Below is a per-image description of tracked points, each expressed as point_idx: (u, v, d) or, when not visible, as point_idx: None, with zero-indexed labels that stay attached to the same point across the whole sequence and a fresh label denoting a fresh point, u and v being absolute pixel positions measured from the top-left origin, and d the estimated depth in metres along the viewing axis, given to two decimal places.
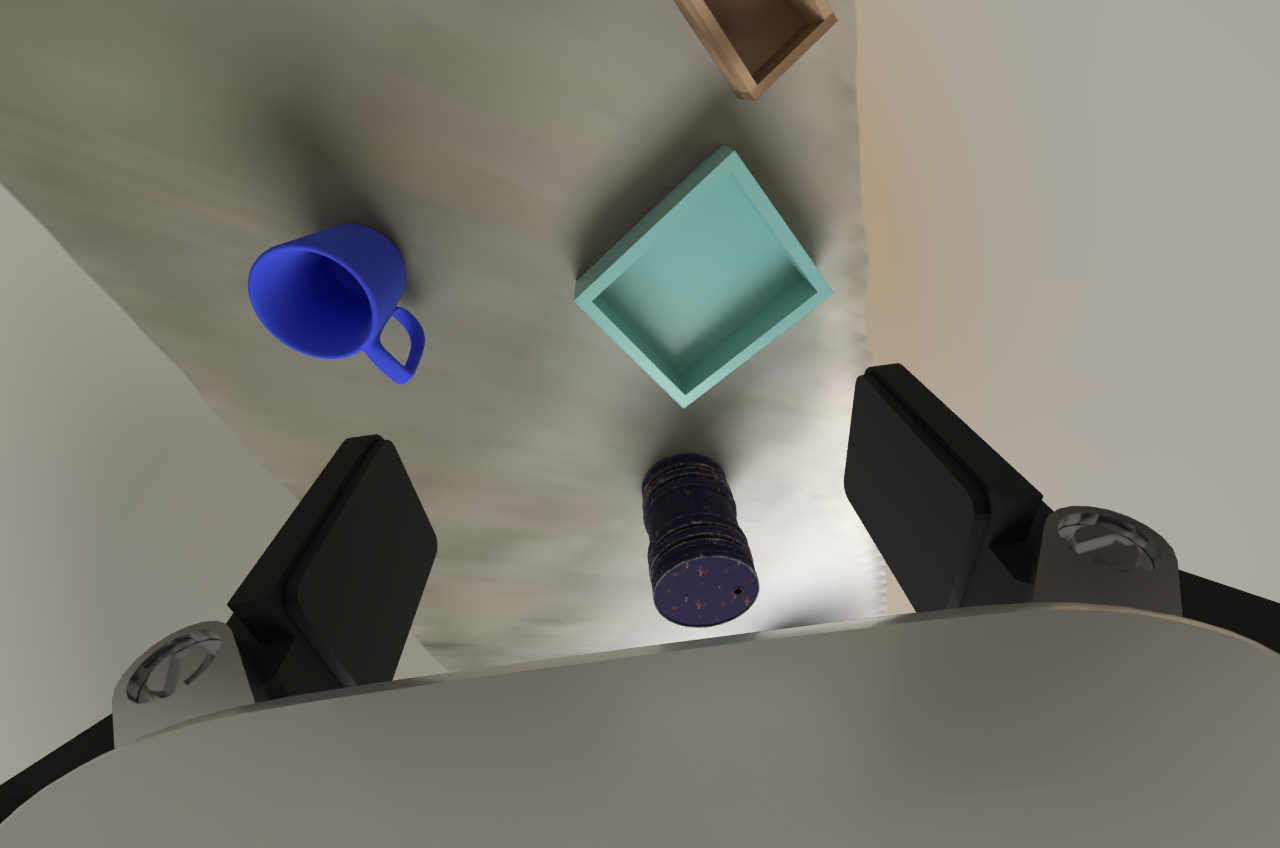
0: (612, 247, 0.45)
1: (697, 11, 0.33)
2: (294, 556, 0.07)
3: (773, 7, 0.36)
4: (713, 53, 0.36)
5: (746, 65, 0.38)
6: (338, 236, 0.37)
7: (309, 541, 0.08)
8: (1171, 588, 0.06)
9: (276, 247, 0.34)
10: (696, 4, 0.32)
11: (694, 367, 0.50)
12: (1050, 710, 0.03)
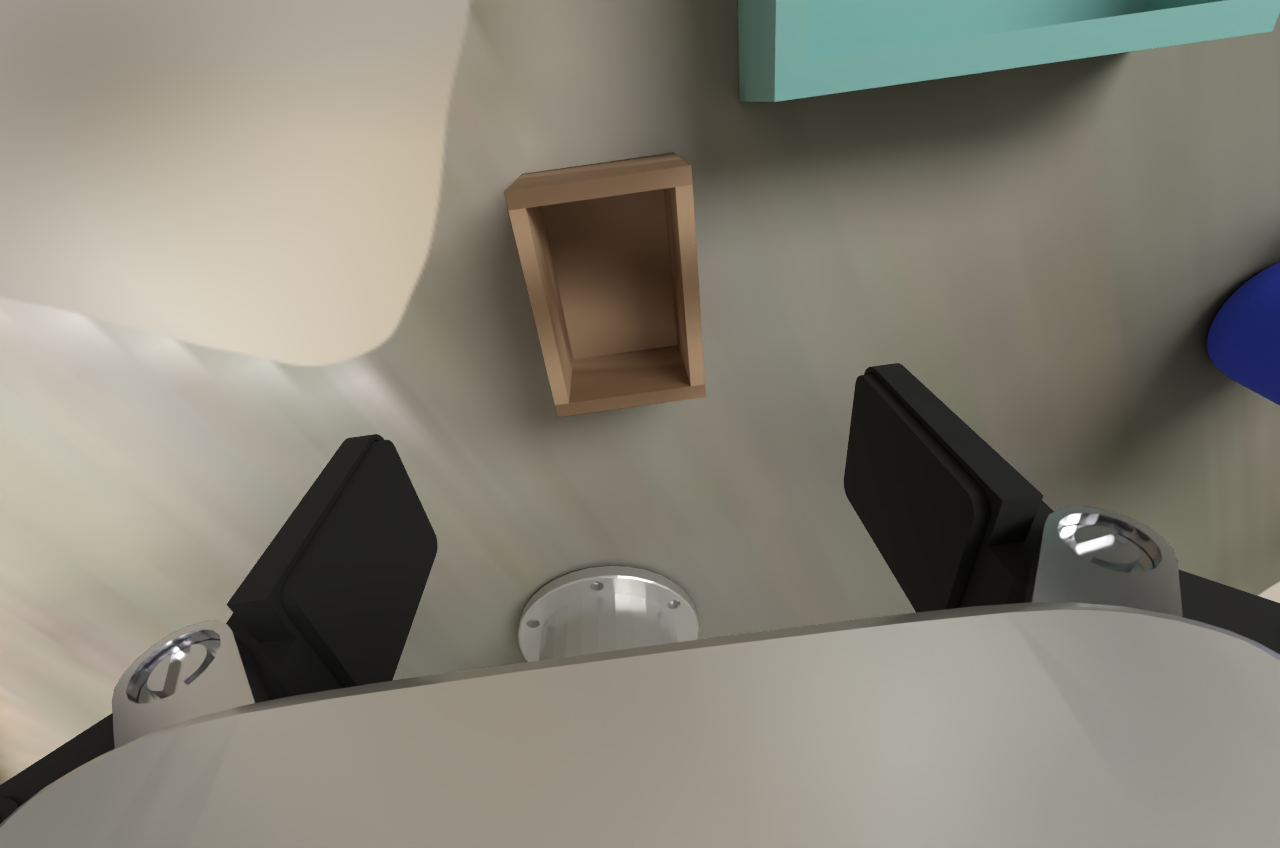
0: None
1: None
2: (294, 555, 0.07)
3: (570, 240, 0.23)
4: None
5: (642, 195, 0.22)
6: None
7: (309, 541, 0.08)
8: (1171, 588, 0.06)
9: None
10: (698, 345, 0.21)
11: None
12: (1051, 710, 0.03)
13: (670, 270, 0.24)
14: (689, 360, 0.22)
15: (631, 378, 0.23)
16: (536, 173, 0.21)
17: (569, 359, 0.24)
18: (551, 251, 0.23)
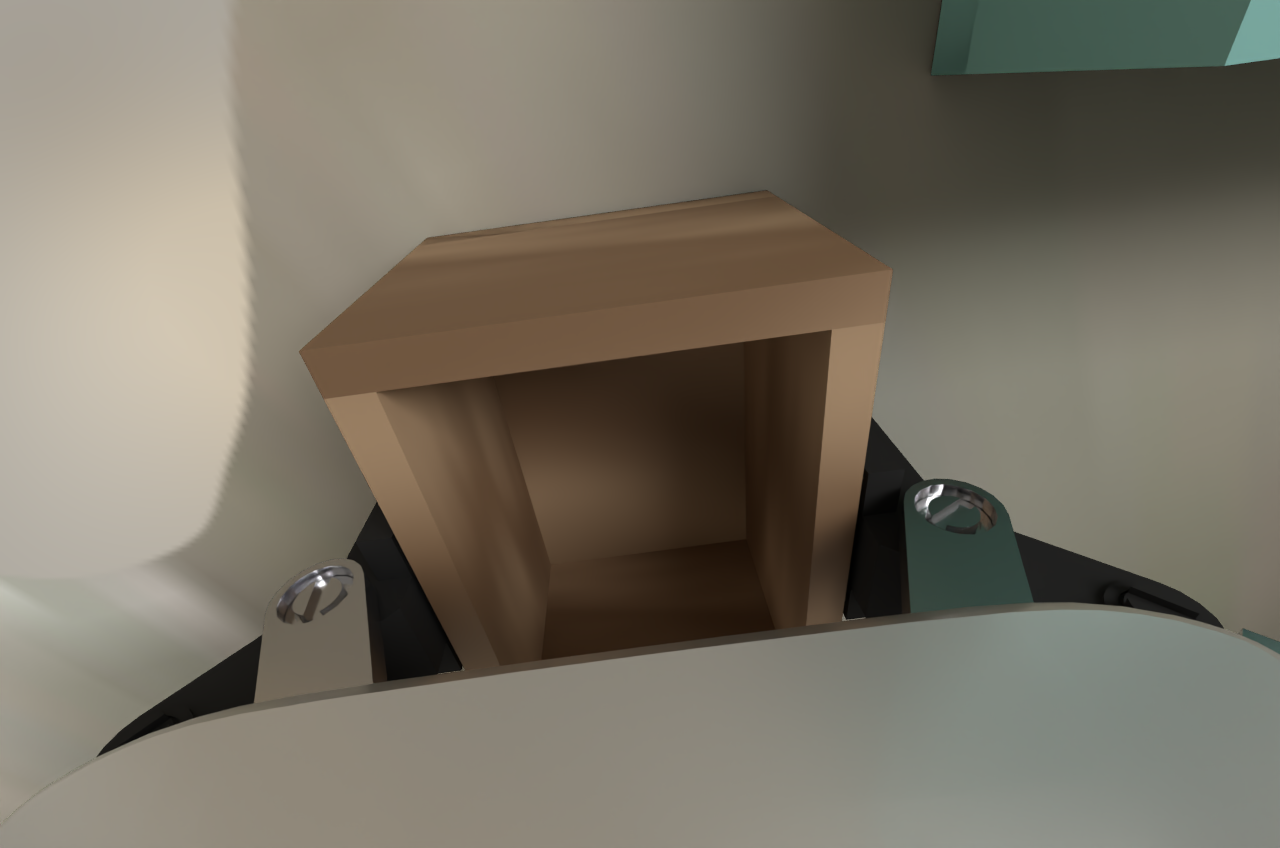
0: None
1: None
2: None
3: (538, 373, 0.11)
4: None
5: None
6: None
7: None
8: (1010, 541, 0.06)
9: None
10: None
11: None
12: (1051, 710, 0.03)
13: (744, 423, 0.12)
14: None
15: None
16: (455, 240, 0.09)
17: (540, 591, 0.12)
18: (499, 391, 0.11)
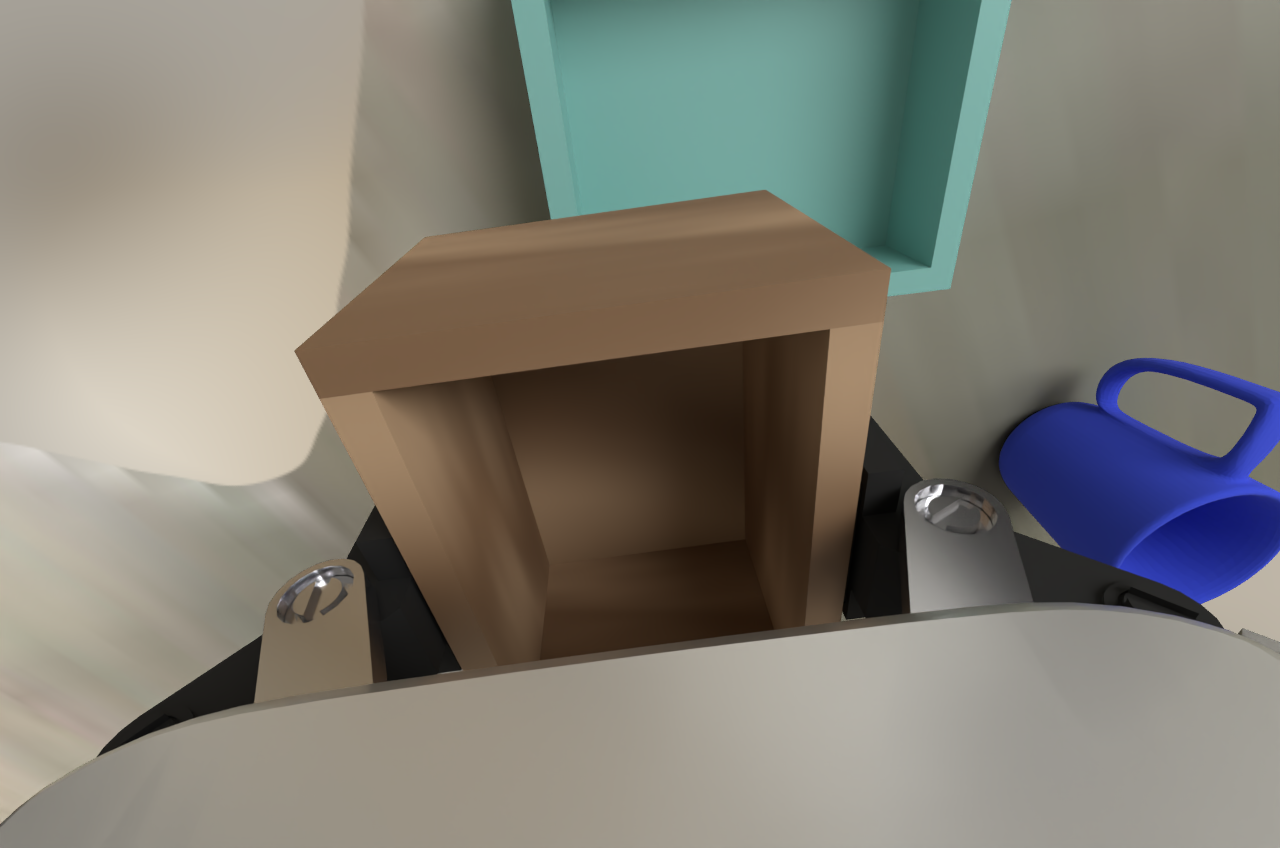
0: None
1: None
2: None
3: (536, 372, 0.11)
4: None
5: None
6: (1056, 539, 0.29)
7: None
8: (1010, 541, 0.06)
9: None
10: None
11: None
12: (1051, 710, 0.03)
13: (743, 423, 0.12)
14: None
15: None
16: (452, 240, 0.09)
17: (539, 592, 0.12)
18: (497, 392, 0.11)
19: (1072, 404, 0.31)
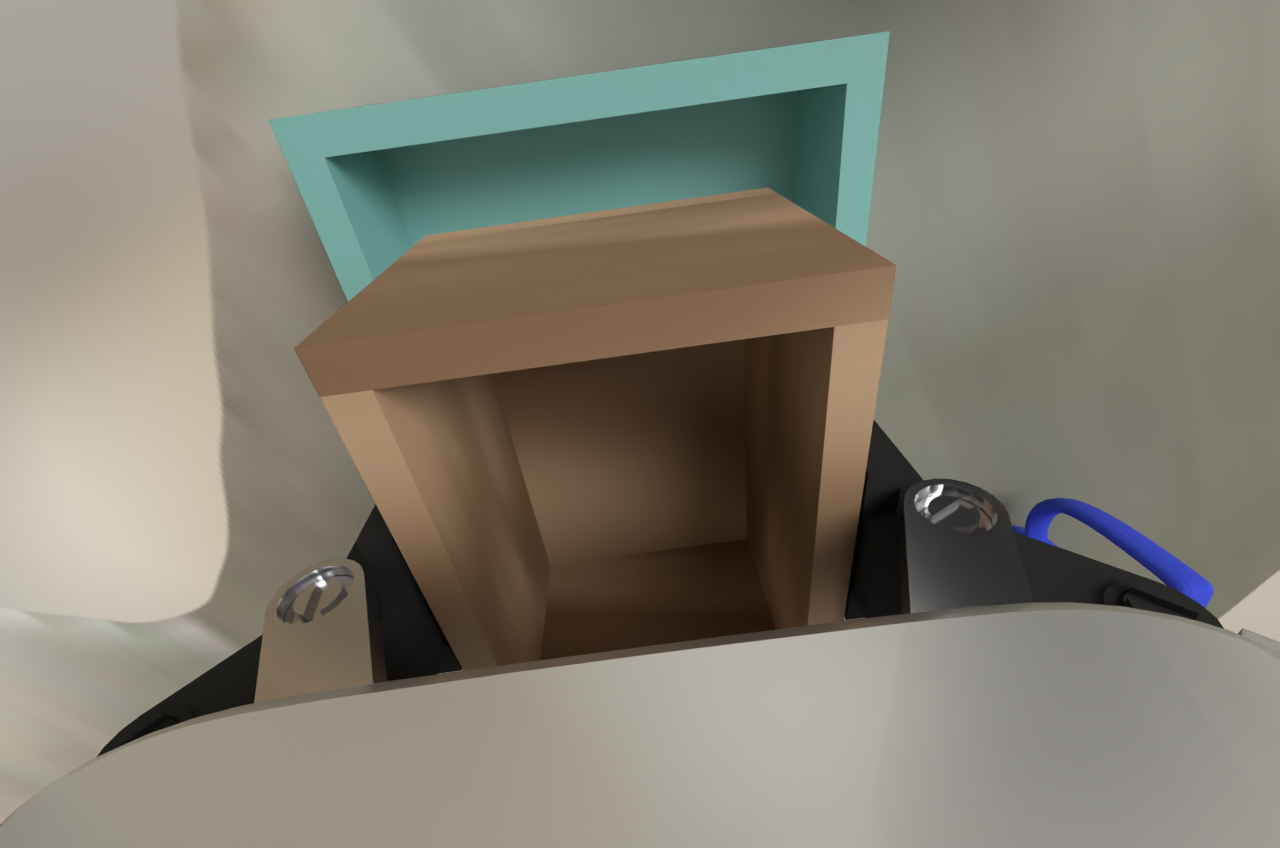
0: None
1: None
2: None
3: (537, 371, 0.11)
4: None
5: None
6: None
7: None
8: (1010, 541, 0.06)
9: None
10: None
11: None
12: (1050, 710, 0.03)
13: (744, 422, 0.12)
14: None
15: None
16: (453, 238, 0.09)
17: (540, 591, 0.12)
18: (498, 391, 0.11)
19: None
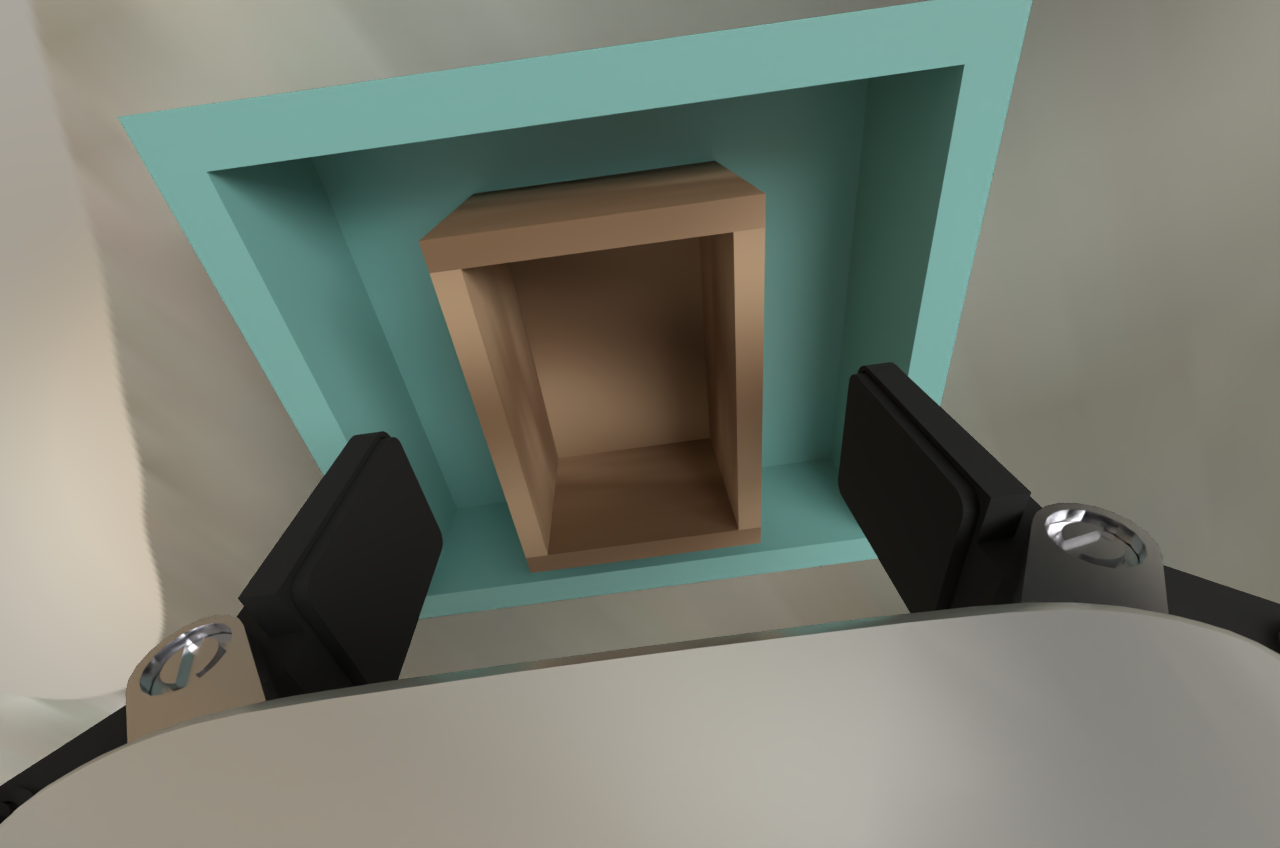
0: None
1: None
2: (303, 551, 0.07)
3: (551, 295, 0.15)
4: None
5: None
6: None
7: (318, 536, 0.08)
8: (1157, 583, 0.06)
9: None
10: (755, 475, 0.13)
11: None
12: (1051, 710, 0.03)
13: (704, 338, 0.16)
14: (739, 495, 0.14)
15: (645, 504, 0.15)
16: (494, 194, 0.13)
17: (551, 468, 0.16)
18: (522, 310, 0.15)
19: None
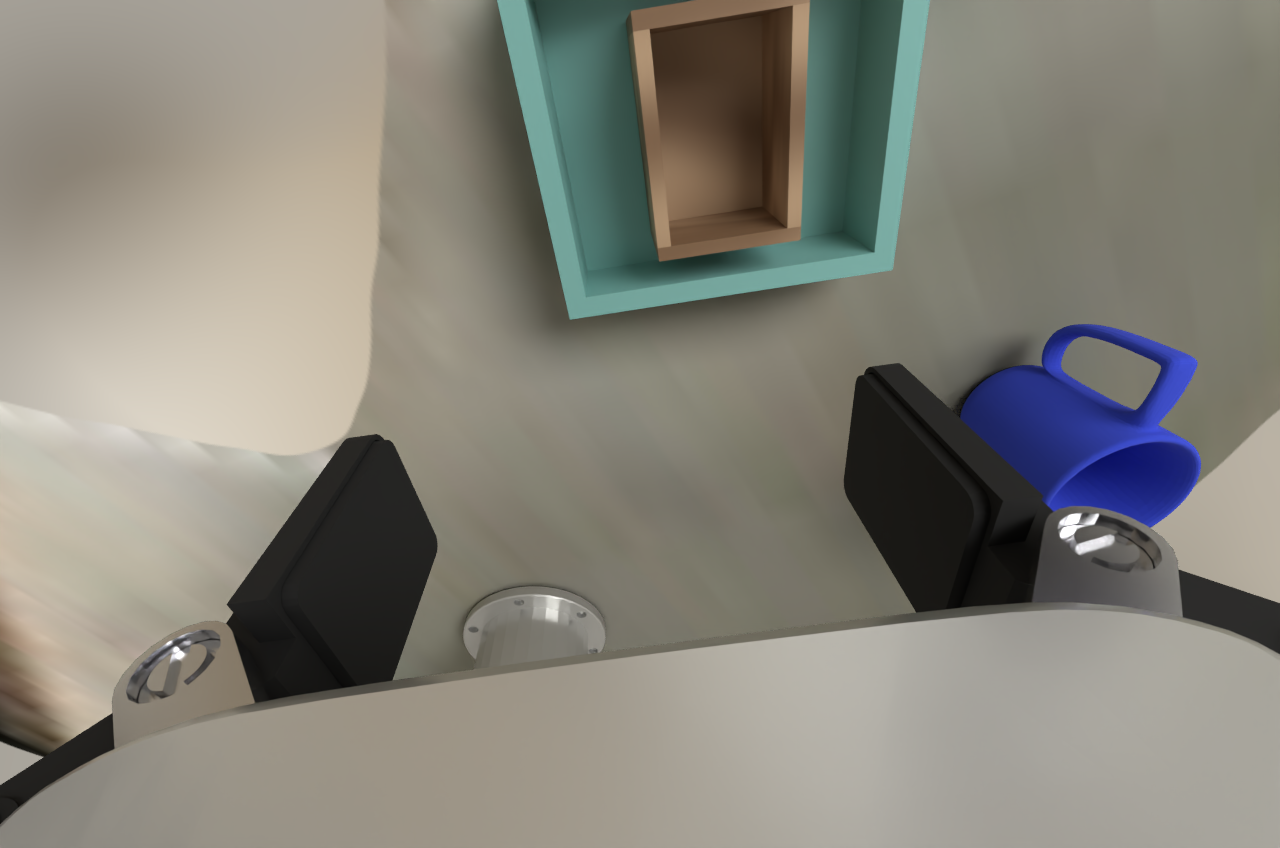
0: None
1: (801, 173, 0.22)
2: (294, 557, 0.07)
3: (668, 91, 0.24)
4: None
5: (741, 40, 0.23)
6: None
7: (309, 541, 0.08)
8: (1171, 588, 0.05)
9: None
10: (799, 182, 0.22)
11: None
12: (1050, 710, 0.03)
13: (762, 124, 0.25)
14: (788, 199, 0.23)
15: (726, 228, 0.25)
16: None
17: None
18: None
19: (1023, 367, 0.34)
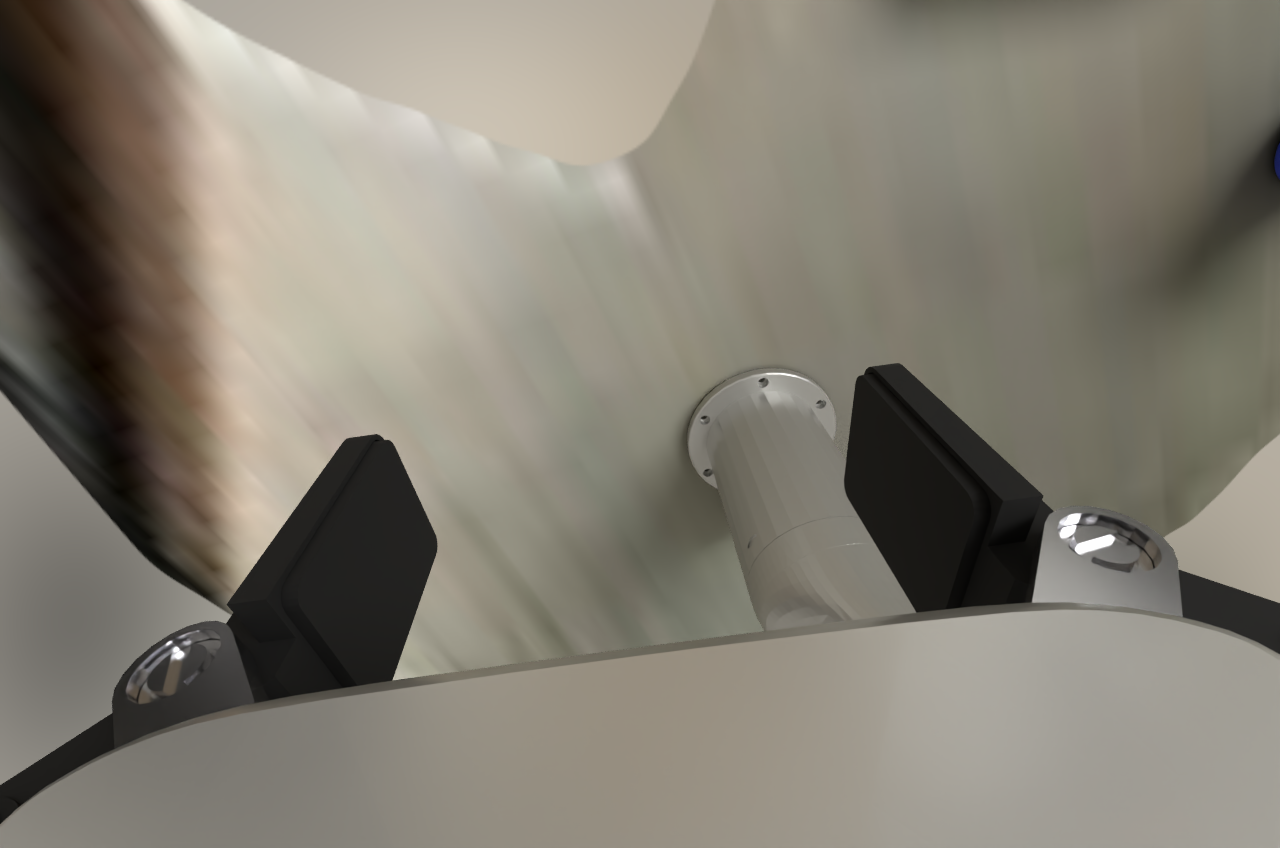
0: None
1: None
2: (294, 557, 0.07)
3: None
4: None
5: None
6: None
7: (309, 541, 0.08)
8: (1171, 588, 0.06)
9: None
10: None
11: None
12: (1051, 710, 0.03)
13: None
14: None
15: None
16: None
17: None
18: None
19: None
